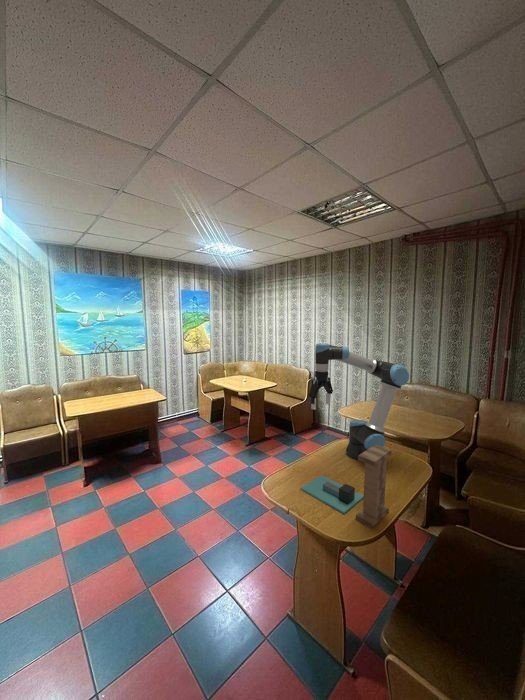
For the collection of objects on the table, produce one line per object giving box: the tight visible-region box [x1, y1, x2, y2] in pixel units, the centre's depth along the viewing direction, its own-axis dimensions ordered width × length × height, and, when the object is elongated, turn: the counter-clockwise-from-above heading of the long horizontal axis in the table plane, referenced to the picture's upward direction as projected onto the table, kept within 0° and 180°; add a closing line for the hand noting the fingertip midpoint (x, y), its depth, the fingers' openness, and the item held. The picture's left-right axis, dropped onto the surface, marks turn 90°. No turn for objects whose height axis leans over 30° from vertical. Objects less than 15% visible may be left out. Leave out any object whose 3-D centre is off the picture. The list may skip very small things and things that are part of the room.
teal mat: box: [300, 474, 364, 515], centre depth 147 cm, size 18×26×1 cm
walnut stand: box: [355, 445, 393, 529], centre depth 129 cm, size 16×8×30 cm, turn 132°
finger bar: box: [323, 482, 356, 505], centre depth 144 cm, size 6×15×6 cm, turn 42°
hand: (320, 406), depth 165 cm, fingers open, 13 cm apart
